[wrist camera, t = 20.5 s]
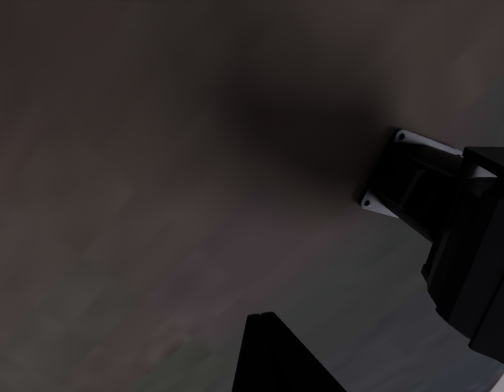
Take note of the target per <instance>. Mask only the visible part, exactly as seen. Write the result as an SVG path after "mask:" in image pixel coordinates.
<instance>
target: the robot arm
mask: <svg viewBox="0 0 504 392" xmlns="http://www.w3.org/2000/svg"><path fill="white" fill-rule="evenodd" d="M400 134H402V135H401V137H400V138H398V137H399V135H400ZM365 201H367V203H365V204H364V202H365ZM359 205H360V206H361V207H362V208H364V209H367V210H371V211H374V212H378V213H382V214H385V215H389V216H393V217H396V218H400V219H401V220H403V221H404V222H405V223H407V224H408V225H409V226H410V227H412V228H413V229H414V230H416V231H417V232H418V233H420V234H421V235H422V236H423V237H425V238H426V239H427V240H429V241H430V242H431V243H433V244H432V247H431V250H430V253H429V256H428V258H427V261H426V264H424V265H423V267H422V270H421V273H422V275H423V277H424V279H425V281H426V282H427V289H428V293H429V294H430V296H431V298H432V299H433V301H434V303H435V304H436V305H437V306H436V312H437V313H438V314H439V315H440V316H441V317H442V318H443V319H444V320H445V321H446V322H447V323H448V324H449V325H450V326H452V327H453V328H454V329H456V330H457V331H458V332H460V333H461V334H462V335H464V336H465V337H467V338H469V339H470V342H469V344H468V346H469V348H470V349H472V350H473V351H476V352H478V353H481V354H483V355H486V356H488V357H491V358H493V359H496V360H497V361H499V362H501V363H503V364H504V147H468V146H466V147H465V148H464V151H463V152H461V151H459V150H456V149H454V148H451V147H448V146H446V145H443V144H440V143H438V142H435V141H433V140H430V139H427V138H425V137H422V136H419V135H417V134H414V133H412V132H409V131H406V130H403V129H397V130H395V131H394V133H393V134H392V136H391V138H390V140H389V142H388V144H387V146H386V148H385V150H384V152H383V154H382V155H381V157H380V159H379V161H378V163H377V165H376V167H375V169H374V171H373V173H372V175H371V177H370V179H369V181H368V183H367V185H366V187H365V189H364V191H363V193H362V195H361V197H360V199H359ZM232 392H347V391H346V390H345V389H344V388H343V387H342V386H341V385H340V384H339V383H338V381H337V380H336V379H335V378H334V377H333V376H332V375H331V374H330V373H329V372H328V371H327V369H326V368H325V367H324V366H323V365H322V364H321V363H320V362H319V361H318V360H317V359H316V358H315V356H314V355H313V354H312V353H311V352H310V351H309V350H308V349H307V348H306V347H305V346H304V344H303V343H302V342H301V341H300V340H299V339H298V338H297V337H296V336H295V335H294V334H293V332H292V331H291V330H290V329H289V328H288V327H287V326H286V325H285V324H284V323H283V322H282V321H281V319H280V318H279V317H278V316H277V315H276V314H275V313H274V312H265V313H262V314H261V315H260V314H251V315H248V316H247V320H246V325H245V329H244V334H243V339H242V344H241V349H240V353H239V358H238V363H237V368H236V373H235V377H234V382H233V387H232Z"/></svg>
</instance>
